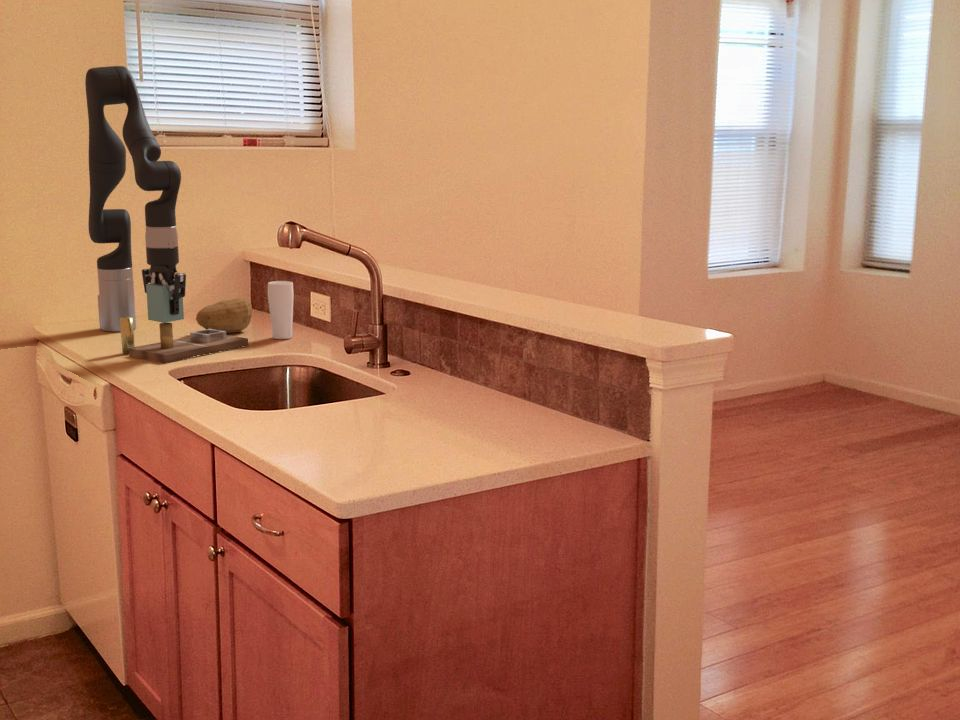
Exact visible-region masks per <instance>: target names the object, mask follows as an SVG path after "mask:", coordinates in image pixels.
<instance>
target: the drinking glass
mask: <svg viewBox="0 0 960 720" xmlns="http://www.w3.org/2000/svg"><path fill="white" fill-rule="evenodd" d="M294 293H295V292H294V283H293V281H289V280H276V281H268V282H267V301H268V310H269V317H270V325H271V337H272V338H273V339H274V340H289V339H291V338H292V337H293V322H294V321H293V319H294V300H295V298H294V297H295V296H294Z"/></svg>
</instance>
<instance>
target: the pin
mask: <svg viewBox="0 0 960 720" xmlns="http://www.w3.org/2000/svg"><path fill="white" fill-rule="evenodd" d="M120 325H121V331H120V337H121V340H120V341H121V350H122V351H121V352H122V353H121V354H122V355H129V348H132V347H136V346H135V329H133V317H121V318H120Z"/></svg>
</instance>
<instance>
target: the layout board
mask: <svg viewBox="0 0 960 720" xmlns="http://www.w3.org/2000/svg"><path fill="white" fill-rule="evenodd" d="M159 338H160V340H159V342H154V343H149V344H145V345H139V346H135V347H132V348H129V357H132V358H136V359H137V358H138V359H143V360H146V361H147V360H148V361H154V362H158V363H164V364H169V363H174V362H179V361H183V359H184V360H188V359H187V358H189V359H191V358H190V357H193V356H197V355H203V354H208V355H210V354H209V353H213V354H216V353H215V352H218V353H220V352H219V351H223V352H225V351H224V350H227V351H229V350H228V349H232V350H234V349H233V348H237V349H239V348H238V347H242V346H247V345H248V346H249V338H247V337H240V336H235V335H229V334H227V333H226V331H220V330H214V329H202V330H201V329H200V330H194V331H190V332H189V336H186V337H182V338H175V339H174V335H173V323H172V322H166V323H162V322H159ZM248 346H247V347H248ZM242 348H243V347H242ZM203 356H204V355H203Z"/></svg>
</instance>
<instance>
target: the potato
mask: <svg viewBox="0 0 960 720" xmlns="http://www.w3.org/2000/svg"><path fill="white" fill-rule="evenodd" d="M252 317H253V306H252V304H251V302H250V301H249V299H246V298H243V297H238V298H233V299H224V300H221V301H217V302H214V303H212V304H209V305H207V306H204V307H203V308H201V309H200V310H199V311H198V312H197V313H196V317H195V320H196V322H197V324H198V325H199V326H201V327H202V328H204V330H206V329H214V330H220V331H226V334H234V333H240V332H242V331H243V330H245V329H247V328H248V326H249V325H250V323H251V321H252Z"/></svg>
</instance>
